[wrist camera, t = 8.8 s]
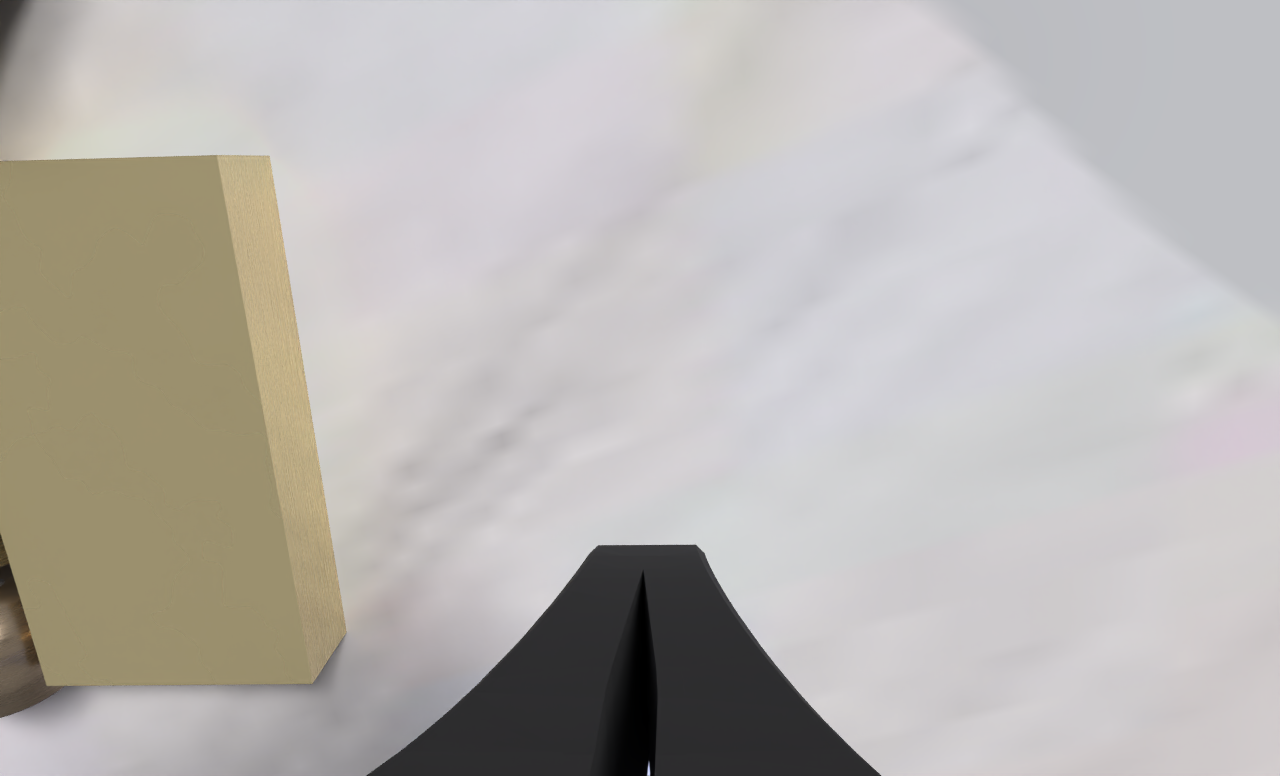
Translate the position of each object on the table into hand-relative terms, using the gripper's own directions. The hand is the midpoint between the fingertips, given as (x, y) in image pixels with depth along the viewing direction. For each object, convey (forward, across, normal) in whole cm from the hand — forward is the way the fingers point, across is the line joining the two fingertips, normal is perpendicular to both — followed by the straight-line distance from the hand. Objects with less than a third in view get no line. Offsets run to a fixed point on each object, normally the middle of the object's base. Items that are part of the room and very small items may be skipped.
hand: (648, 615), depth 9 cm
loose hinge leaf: (+10, +14, +1) cm, 17 cm away
